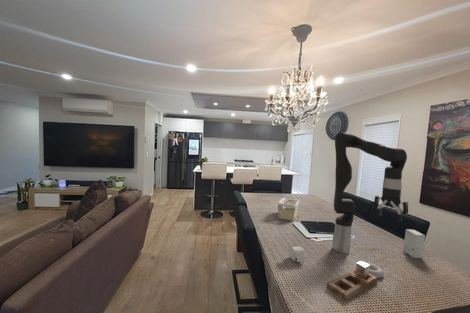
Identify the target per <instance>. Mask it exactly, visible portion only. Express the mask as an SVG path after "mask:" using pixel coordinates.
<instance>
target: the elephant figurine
mask: <svg viewBox="0 0 470 313" xmlns="http://www.w3.org/2000/svg"><path fill="white" fill-rule="evenodd" d="M287 251H288V256H289V259H290V258H291V260H293V261H292V262H297V263H303V262H305V260H307V258H306V256H305V253H306V246H305V243H302V244H301V246H291V244H288V246H287Z"/></svg>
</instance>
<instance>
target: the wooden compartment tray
mask: <svg viewBox="0 0 470 313" xmlns="http://www.w3.org/2000/svg"><path fill="white" fill-rule="evenodd" d="M375 284H378V278H377V277H376V276H374V275H372V274H370V273H369V278H368V279H366V280H365V279H363V278H361V277H359V276H358V275H356V268H354V269H352V270H350V271H348V272H346V273H344V274H342V275H339V276H337V277H336V278H333V279H332V280H330V281H328V282H327V283H326V288H327V289H328V290H329V291H330V292H332V293H333V294H335V295H336V296H337V297H339V298H341V299H342V300H343V301H344V302H347V301H348V300H350V299H353V297H355V296H356V295H358V294H360V293H362V292H363V291H365V290H367V289H368V288H370V287H371V286H373V285H375Z"/></svg>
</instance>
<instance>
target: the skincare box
mask: <svg viewBox="0 0 470 313" xmlns="http://www.w3.org/2000/svg"><path fill="white" fill-rule="evenodd" d="M425 241H426V235H425V234H423V233H421V232H419V231H418V230H415V229H409V228H407V229H405V232H404V241H403V247H402V252H404V253H405V254H407V255H409V256H410V257H411V258H415V259H416V258H417V259H422V258H423V253H424V247H425Z"/></svg>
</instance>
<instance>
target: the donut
mask: <svg viewBox="0 0 470 313" xmlns="http://www.w3.org/2000/svg"><path fill="white" fill-rule="evenodd" d="M366 263H367V262H366ZM367 264H369V265H370V267H369V273H370V274H372V275H374V276H376V277H377V279H381V278H383V276H384V275H385V274H384V271H383V269H382V268H381V267H380V266H378V265H376V264H375V263H370V262H368V263H367Z"/></svg>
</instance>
